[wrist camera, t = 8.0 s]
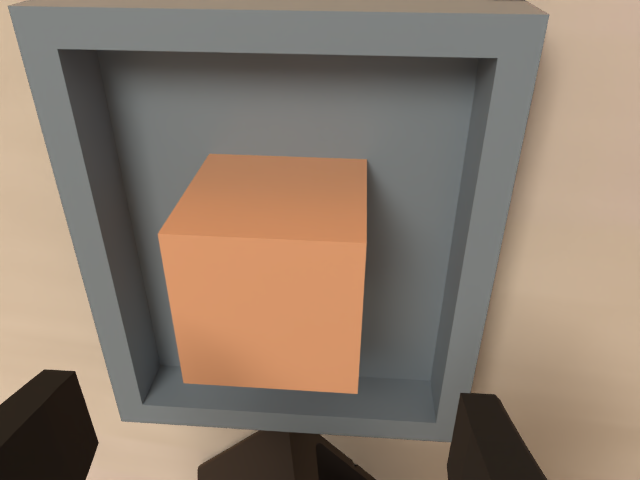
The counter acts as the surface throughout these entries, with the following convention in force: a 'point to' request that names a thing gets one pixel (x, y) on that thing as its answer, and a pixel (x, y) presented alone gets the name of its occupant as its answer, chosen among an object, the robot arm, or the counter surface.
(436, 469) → the counter surface
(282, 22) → the slate tray
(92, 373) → the counter surface
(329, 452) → the phone stand
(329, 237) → the orange block
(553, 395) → the counter surface
